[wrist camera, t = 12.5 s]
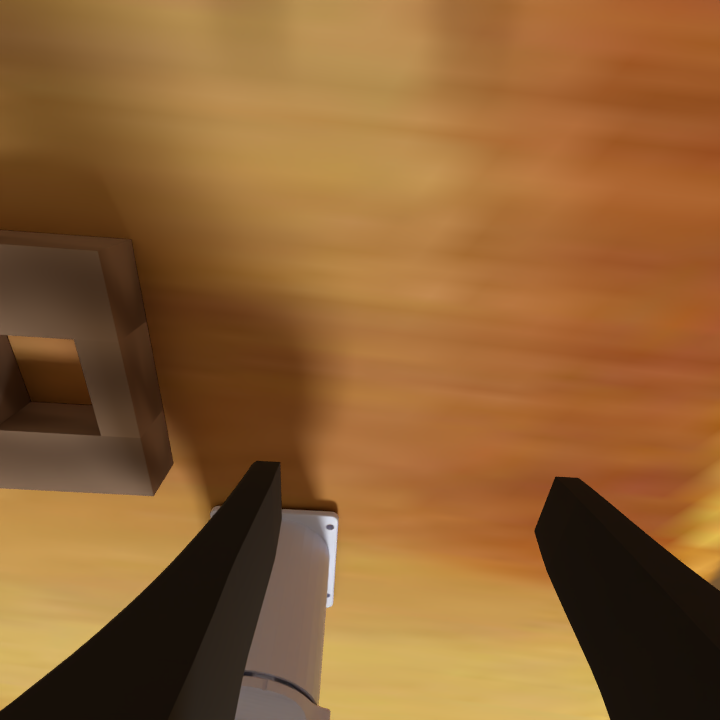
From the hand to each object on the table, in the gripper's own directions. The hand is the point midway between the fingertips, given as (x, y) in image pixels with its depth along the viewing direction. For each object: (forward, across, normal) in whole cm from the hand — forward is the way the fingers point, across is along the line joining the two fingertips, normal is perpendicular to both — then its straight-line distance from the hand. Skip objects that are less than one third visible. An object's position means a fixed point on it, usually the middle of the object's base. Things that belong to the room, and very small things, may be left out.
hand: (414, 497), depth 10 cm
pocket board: (+10, +16, +2) cm, 20 cm away
